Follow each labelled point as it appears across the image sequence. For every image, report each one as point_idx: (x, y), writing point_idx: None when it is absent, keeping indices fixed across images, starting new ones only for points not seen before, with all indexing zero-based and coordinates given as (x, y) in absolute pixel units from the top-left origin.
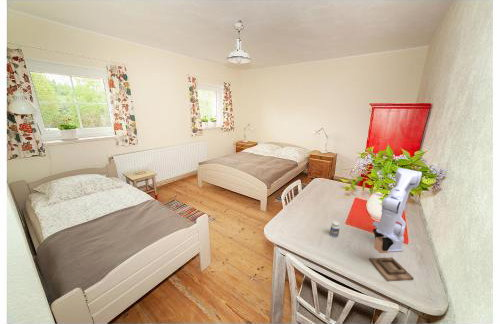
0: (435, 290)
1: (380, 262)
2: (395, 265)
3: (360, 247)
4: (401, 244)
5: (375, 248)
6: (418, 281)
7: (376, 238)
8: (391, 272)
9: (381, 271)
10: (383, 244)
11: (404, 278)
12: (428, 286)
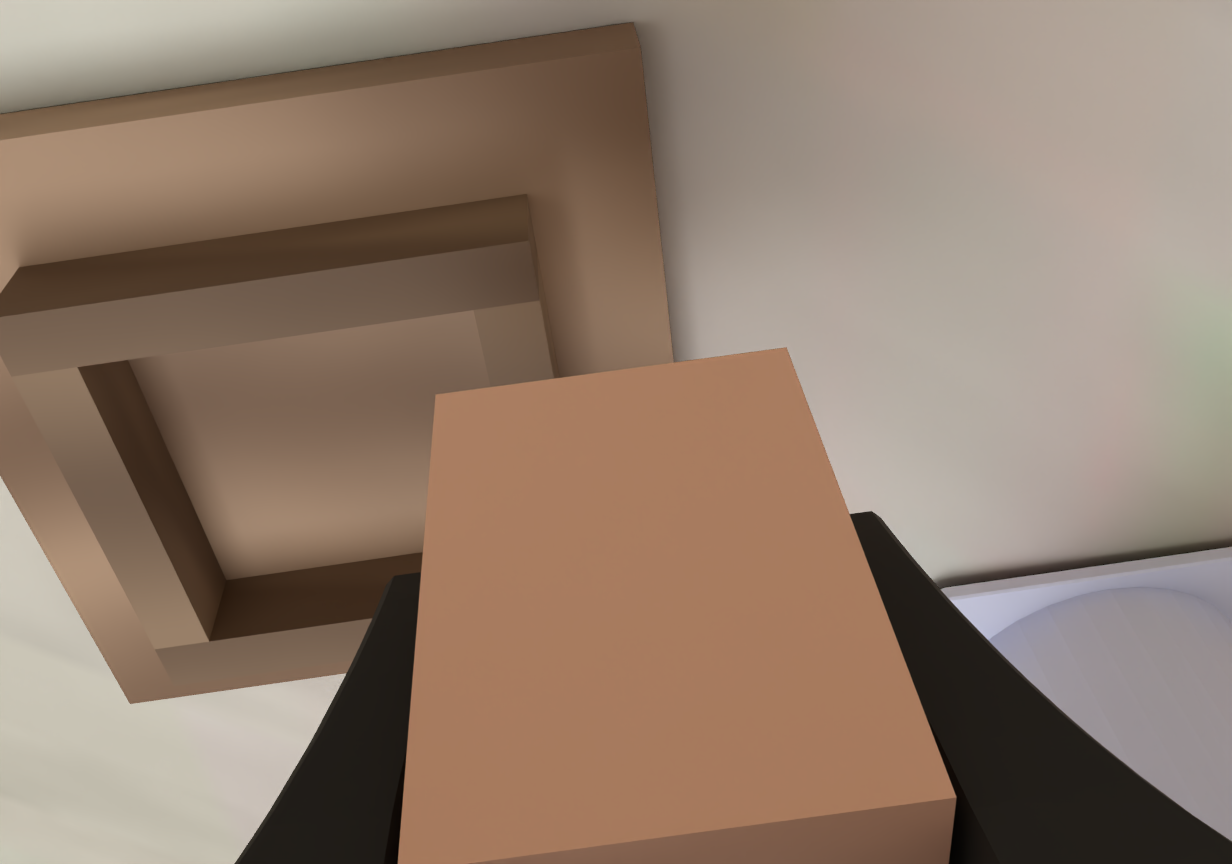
0: (6, 830)
1: (364, 263)
2: (411, 568)
3: (1198, 28)
4: None
5: (689, 370)
6: (139, 719)
7: (878, 729)
8: (19, 365)
9: (102, 132)
10: (352, 824)
11: (47, 549)
12: (65, 790)
